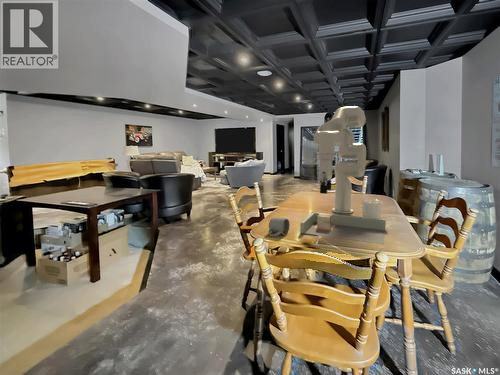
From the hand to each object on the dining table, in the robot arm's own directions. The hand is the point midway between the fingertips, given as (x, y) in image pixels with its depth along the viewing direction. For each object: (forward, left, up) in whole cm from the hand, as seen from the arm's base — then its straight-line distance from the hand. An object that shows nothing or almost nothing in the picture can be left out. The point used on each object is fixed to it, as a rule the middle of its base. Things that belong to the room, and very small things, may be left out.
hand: (325, 191), depth 138 cm
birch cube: (0, 0, -18) cm, 18 cm away
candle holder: (-18, +20, -19) cm, 33 cm away
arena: (+3, +9, -19) cm, 21 cm away
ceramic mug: (+18, -18, -19) cm, 32 cm away
